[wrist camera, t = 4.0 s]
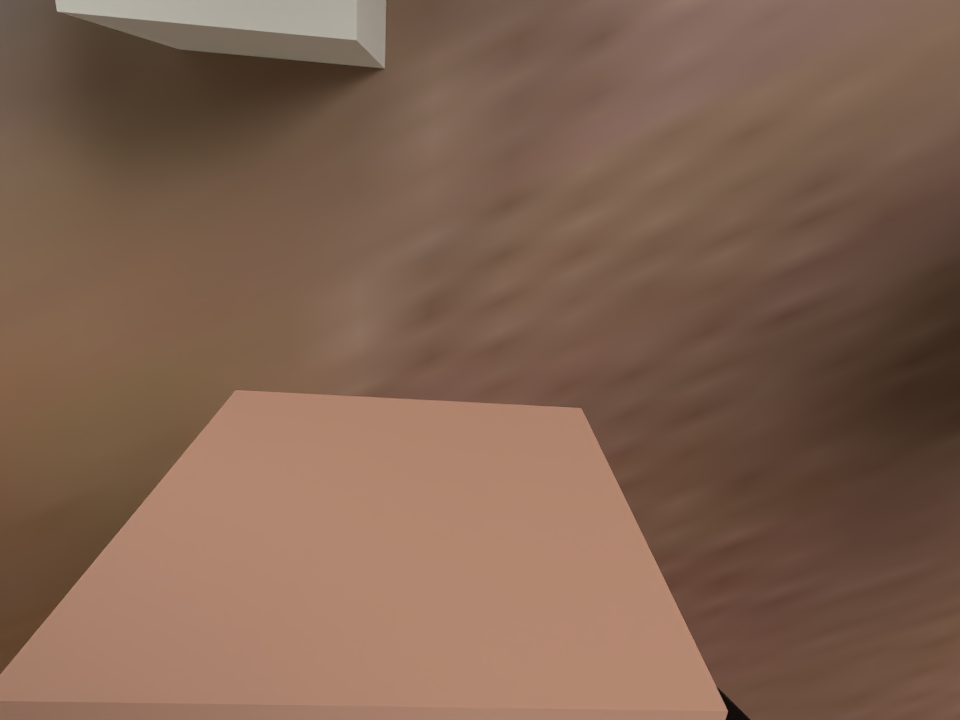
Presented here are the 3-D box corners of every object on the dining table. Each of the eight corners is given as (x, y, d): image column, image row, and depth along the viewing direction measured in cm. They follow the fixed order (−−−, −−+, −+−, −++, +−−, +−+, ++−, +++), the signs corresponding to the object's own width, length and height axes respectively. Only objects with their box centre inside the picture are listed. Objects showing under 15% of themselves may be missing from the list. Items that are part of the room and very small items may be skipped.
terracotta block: (581, 408, 9) (728, 711, 4) (541, 663, 11) (615, 1077, 6) (236, 390, 9) (-22, 701, 4) (254, 657, 10) (93, 1094, 6)
